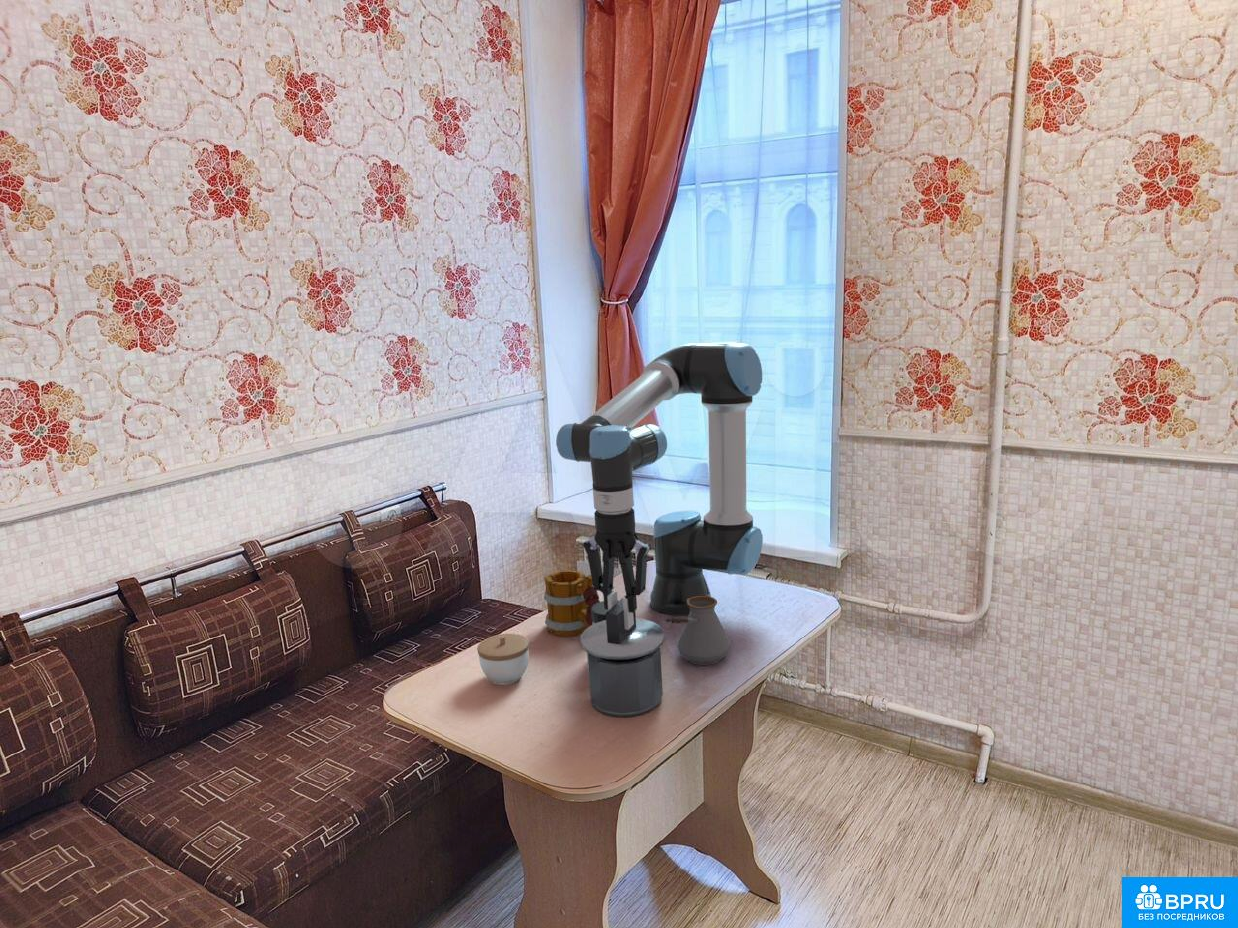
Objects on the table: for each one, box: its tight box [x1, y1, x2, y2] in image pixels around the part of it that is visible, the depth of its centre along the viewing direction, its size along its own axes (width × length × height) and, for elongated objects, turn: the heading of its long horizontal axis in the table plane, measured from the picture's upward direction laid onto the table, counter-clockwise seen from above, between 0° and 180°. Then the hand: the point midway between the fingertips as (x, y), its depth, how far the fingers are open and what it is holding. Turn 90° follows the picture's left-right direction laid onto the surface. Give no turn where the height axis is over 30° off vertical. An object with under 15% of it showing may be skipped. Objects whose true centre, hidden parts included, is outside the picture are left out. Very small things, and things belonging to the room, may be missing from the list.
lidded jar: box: [477, 633, 530, 686], centre depth 174 cm, size 11×11×9 cm
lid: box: [580, 597, 665, 660], centre depth 160 cm, size 16×16×8 cm
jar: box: [591, 599, 620, 624], centre depth 179 cm, size 9×8×12 cm
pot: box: [586, 646, 664, 718], centre depth 164 cm, size 14×18×11 cm
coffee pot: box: [661, 596, 731, 666], centre depth 173 cm, size 21×12×15 cm, turn 147°
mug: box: [543, 569, 601, 637], centre depth 195 cm, size 11×16×15 cm, turn 46°
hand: (621, 625), depth 160 cm, fingers closed on lid, 2 cm apart
